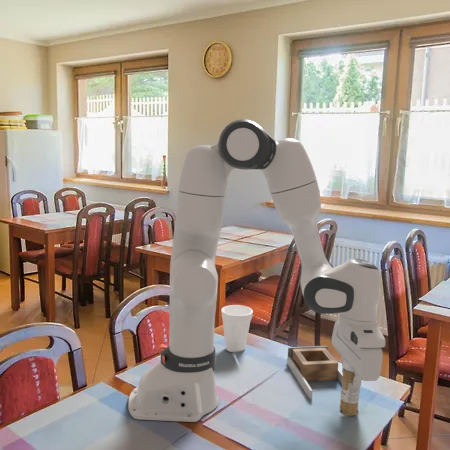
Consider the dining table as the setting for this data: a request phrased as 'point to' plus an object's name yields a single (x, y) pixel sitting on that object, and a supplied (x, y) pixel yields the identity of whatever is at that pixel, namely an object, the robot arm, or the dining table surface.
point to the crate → (315, 364)
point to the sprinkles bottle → (349, 391)
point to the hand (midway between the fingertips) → (351, 380)
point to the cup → (236, 326)
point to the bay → (298, 373)
